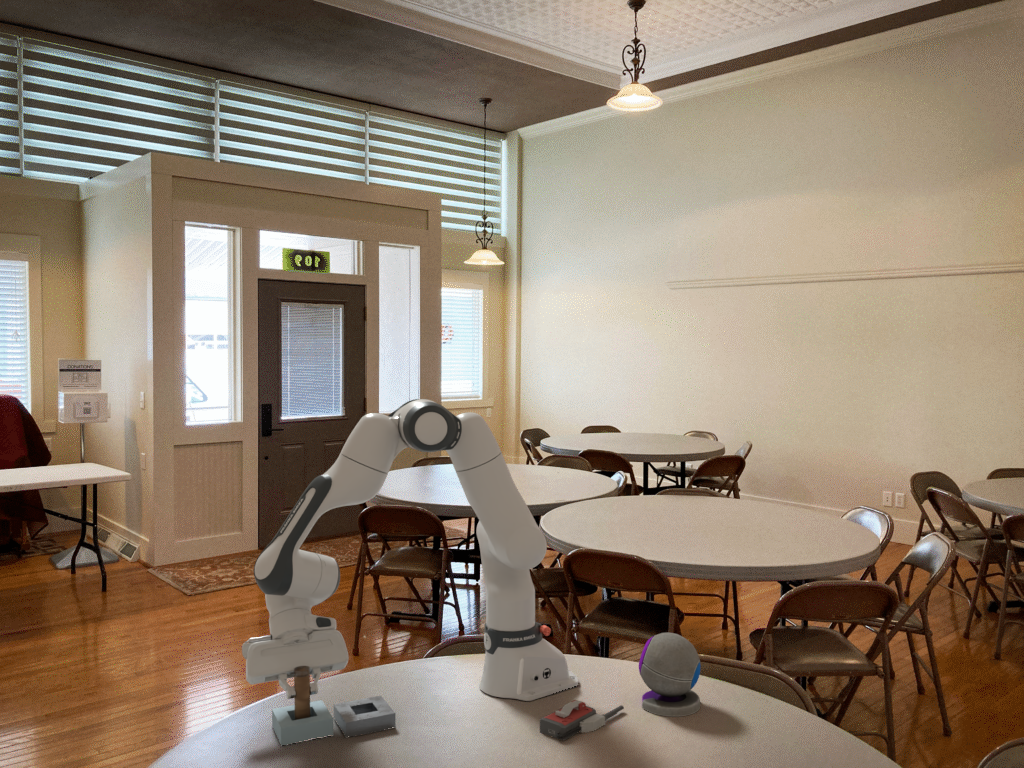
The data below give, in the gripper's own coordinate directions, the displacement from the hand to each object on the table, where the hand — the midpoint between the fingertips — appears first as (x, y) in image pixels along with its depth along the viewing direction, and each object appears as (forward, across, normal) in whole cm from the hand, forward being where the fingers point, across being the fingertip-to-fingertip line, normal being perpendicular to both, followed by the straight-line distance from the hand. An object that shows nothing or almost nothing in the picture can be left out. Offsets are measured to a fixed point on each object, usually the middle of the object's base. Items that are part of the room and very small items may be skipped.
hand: (302, 695), depth 163 cm
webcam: (+21, +73, -10) cm, 76 cm away
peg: (+4, 0, +5) cm, 6 cm away
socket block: (+6, +12, +4) cm, 14 cm away
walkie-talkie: (+20, +51, -9) cm, 56 cm away
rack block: (+5, 0, +6) cm, 7 cm away
